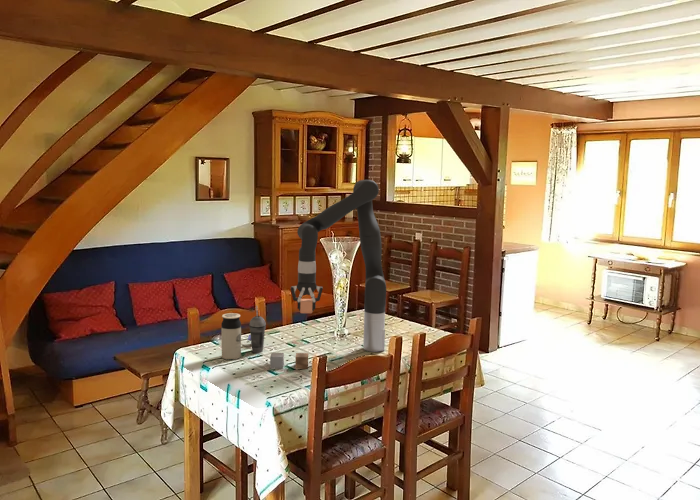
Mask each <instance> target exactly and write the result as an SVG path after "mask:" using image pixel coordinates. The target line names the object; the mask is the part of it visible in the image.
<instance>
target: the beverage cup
mask: <svg viewBox="0 0 700 500" xmlns="http://www.w3.org/2000/svg"><path fill="white" fill-rule="evenodd" d="M255 311H256V316H253V317H252V318H251V319H250V321H249V325H248V327H249V331H250V332H251V334H250V335H251V341H250V345H251V349H252V350H251V351H252V353H253V354H255V353H256V354H259V353H263V351H264V346H265V345H264V343H265V335H266V334H265V332H266V327H267V323H266V320H265V319H264V317H262V316H260V315H258V305H256V308H255ZM250 332H249V333H250Z"/></svg>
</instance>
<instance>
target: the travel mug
mask: <svg viewBox="0 0 700 500" xmlns="http://www.w3.org/2000/svg"><path fill="white" fill-rule="evenodd" d="M221 315H222V316H221V317H222V322H221V323H220V324H221V325H220V326H221V358H222V359H224V360H227V359H233V360H237V359H239V358H241V357H242V322H241V320H240V318H241V314H240V313H235V312H234V313H233V312H229V313H224V314H221Z"/></svg>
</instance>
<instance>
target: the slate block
mask: <svg viewBox="0 0 700 500" xmlns="http://www.w3.org/2000/svg"><path fill="white" fill-rule="evenodd" d="M284 354H285V353H284V352H271V353H270V357H269V359H270V360H269V368H270V369H271V370H272V369H273V370H274V369H275V370H283V369H284V364H285V363H284V362H285V361H284V360H285V357H284V356H285V355H284Z"/></svg>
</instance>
